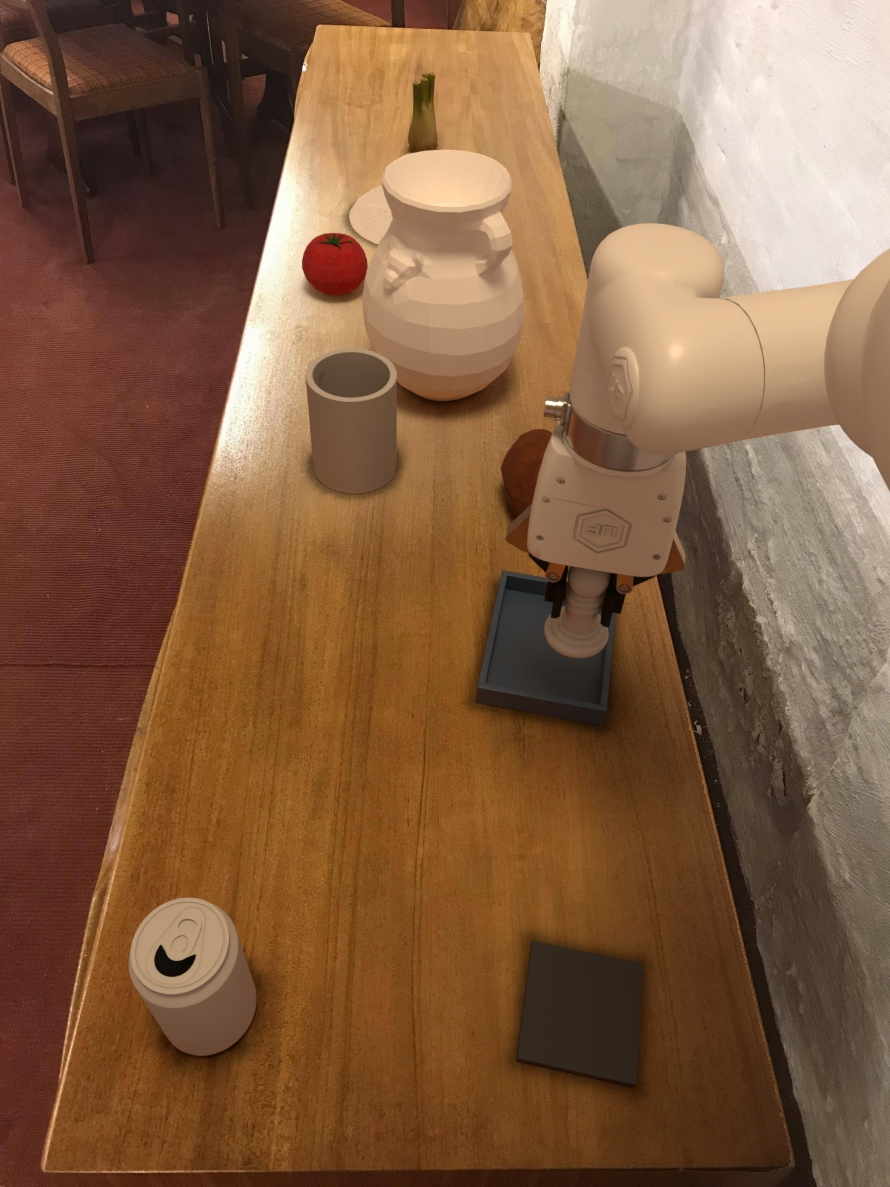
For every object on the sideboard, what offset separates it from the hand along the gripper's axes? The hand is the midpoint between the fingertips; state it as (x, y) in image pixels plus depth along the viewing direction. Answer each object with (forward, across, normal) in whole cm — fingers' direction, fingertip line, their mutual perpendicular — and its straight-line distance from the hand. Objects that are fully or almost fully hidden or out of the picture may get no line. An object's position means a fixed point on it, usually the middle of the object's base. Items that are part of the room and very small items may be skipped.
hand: (581, 608), depth 72 cm
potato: (+11, -6, +24) cm, 27 cm away
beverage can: (+12, -21, -32) cm, 40 cm away
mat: (+12, +4, -27) cm, 30 cm away
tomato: (+10, -38, +60) cm, 72 cm away
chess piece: (+4, 0, 0) cm, 4 cm away
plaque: (+10, -32, +83) cm, 89 cm away
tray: (+11, -2, +4) cm, 12 cm away
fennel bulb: (+9, -36, +107) cm, 113 cm away
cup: (+11, -26, +25) cm, 38 cm away
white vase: (+10, -20, +43) cm, 49 cm away
